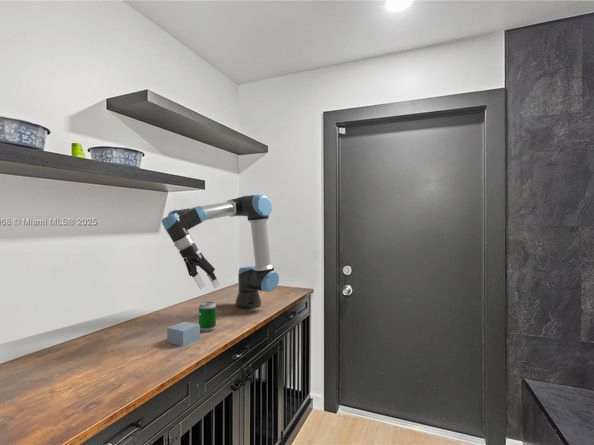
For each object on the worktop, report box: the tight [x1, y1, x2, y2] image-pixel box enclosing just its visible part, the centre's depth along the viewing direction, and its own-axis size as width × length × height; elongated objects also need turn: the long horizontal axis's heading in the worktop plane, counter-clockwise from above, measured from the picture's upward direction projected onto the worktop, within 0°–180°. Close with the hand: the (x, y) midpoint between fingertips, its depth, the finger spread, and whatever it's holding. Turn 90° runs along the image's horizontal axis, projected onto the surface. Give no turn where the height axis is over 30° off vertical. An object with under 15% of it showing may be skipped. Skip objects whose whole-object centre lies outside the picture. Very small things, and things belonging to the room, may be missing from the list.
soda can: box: [198, 301, 217, 333], centre depth 145 cm, size 8×8×12 cm
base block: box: [166, 321, 201, 347], centre depth 131 cm, size 9×9×6 cm
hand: (210, 286), depth 143 cm, fingers open, 13 cm apart
